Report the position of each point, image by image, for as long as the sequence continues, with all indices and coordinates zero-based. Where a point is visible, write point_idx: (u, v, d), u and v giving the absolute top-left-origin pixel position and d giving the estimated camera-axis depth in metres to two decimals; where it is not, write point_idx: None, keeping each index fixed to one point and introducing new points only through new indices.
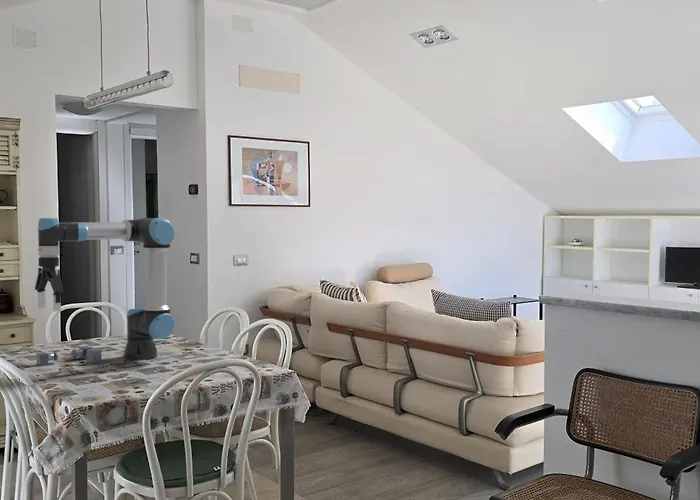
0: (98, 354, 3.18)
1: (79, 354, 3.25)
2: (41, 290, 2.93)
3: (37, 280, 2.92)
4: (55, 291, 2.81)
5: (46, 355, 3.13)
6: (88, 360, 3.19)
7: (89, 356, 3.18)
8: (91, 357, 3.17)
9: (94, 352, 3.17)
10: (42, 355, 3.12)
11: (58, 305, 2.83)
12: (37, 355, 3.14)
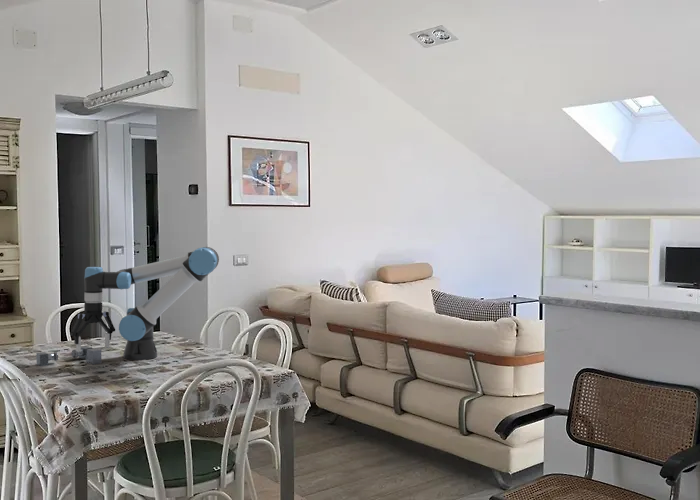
0: (98, 354, 3.18)
1: (79, 354, 3.25)
2: (108, 332, 3.24)
3: None
4: None
5: (46, 355, 3.13)
6: (88, 360, 3.19)
7: (89, 356, 3.18)
8: (91, 357, 3.17)
9: (94, 352, 3.17)
10: (42, 355, 3.12)
11: (77, 346, 3.14)
12: (37, 355, 3.14)
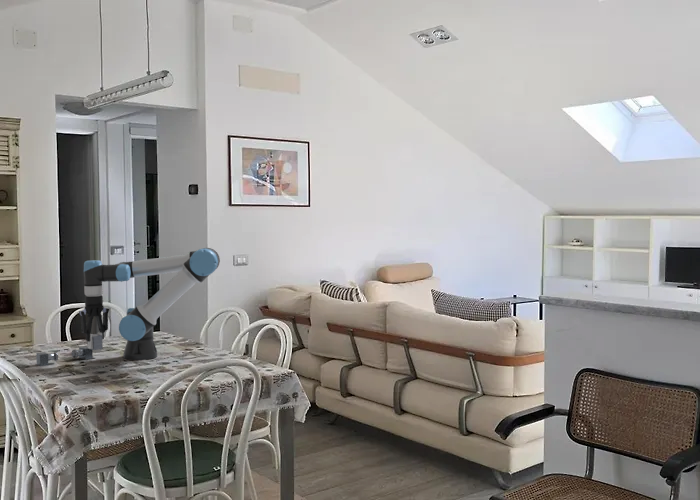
0: (99, 340, 3.18)
1: (79, 354, 3.25)
2: (100, 331, 3.21)
3: None
4: None
5: (46, 355, 3.13)
6: None
7: None
8: None
9: (95, 338, 3.17)
10: (42, 355, 3.12)
11: (89, 343, 3.17)
12: (37, 355, 3.14)
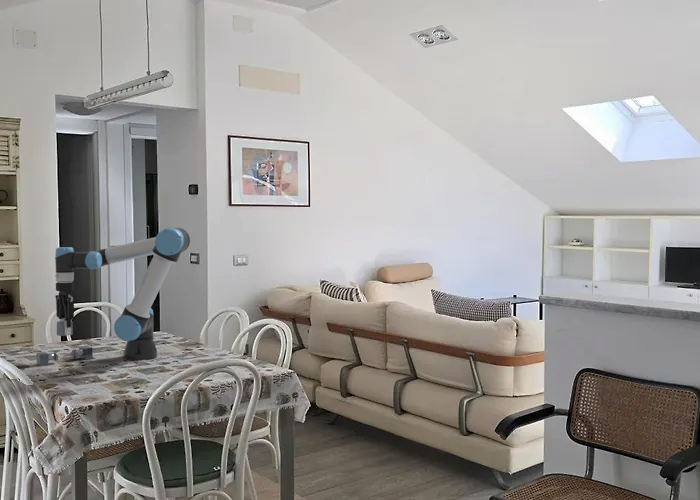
0: None
1: (79, 354, 3.25)
2: (62, 317, 3.23)
3: (57, 307, 3.23)
4: (66, 317, 3.17)
5: (46, 355, 3.13)
6: None
7: None
8: None
9: None
10: (42, 355, 3.12)
11: (68, 329, 3.20)
12: (37, 355, 3.14)
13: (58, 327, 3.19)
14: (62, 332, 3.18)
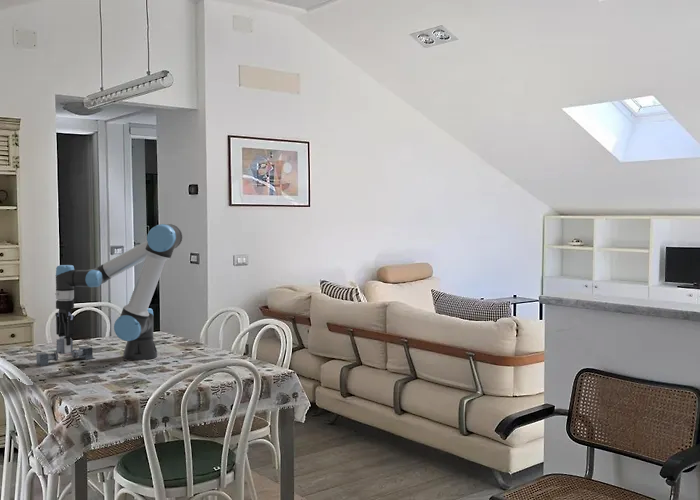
0: None
1: (79, 354, 3.25)
2: (62, 335, 3.23)
3: (57, 324, 3.24)
4: (66, 335, 3.18)
5: (46, 355, 3.13)
6: None
7: None
8: None
9: None
10: (42, 355, 3.12)
11: (68, 347, 3.20)
12: (37, 355, 3.14)
13: (58, 345, 3.20)
14: (62, 350, 3.19)
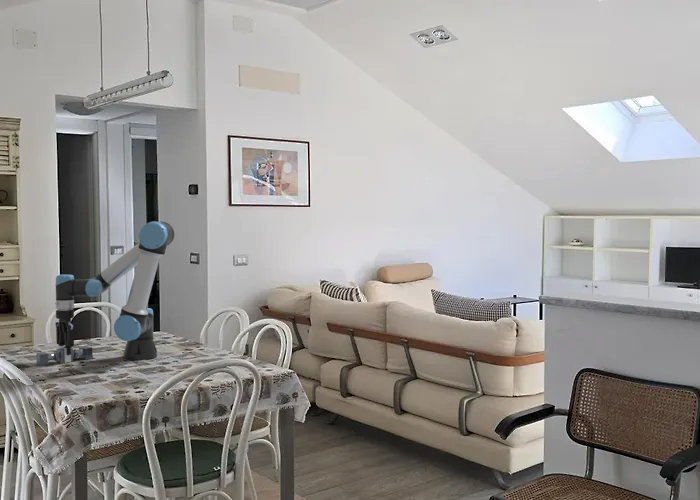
0: None
1: (79, 354, 3.25)
2: (62, 344, 3.23)
3: (57, 334, 3.24)
4: (66, 345, 3.18)
5: (46, 355, 3.13)
6: None
7: None
8: None
9: None
10: (42, 355, 3.12)
11: (68, 357, 3.20)
12: (37, 355, 3.14)
13: (58, 354, 3.20)
14: (62, 359, 3.19)
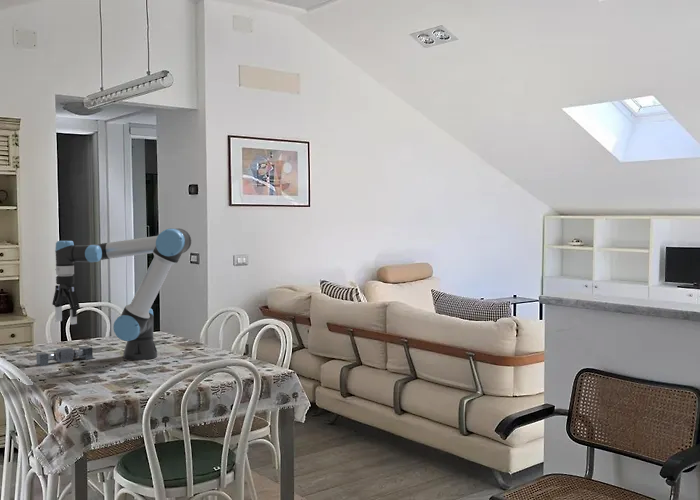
0: None
1: (79, 354, 3.25)
2: (58, 305, 3.26)
3: (54, 296, 3.25)
4: (72, 306, 3.15)
5: (46, 355, 3.13)
6: (64, 360, 3.19)
7: (66, 354, 3.20)
8: (70, 355, 3.21)
9: None
10: (42, 355, 3.12)
11: (74, 319, 3.17)
12: (37, 355, 3.14)
13: (58, 354, 3.20)
14: (62, 359, 3.19)
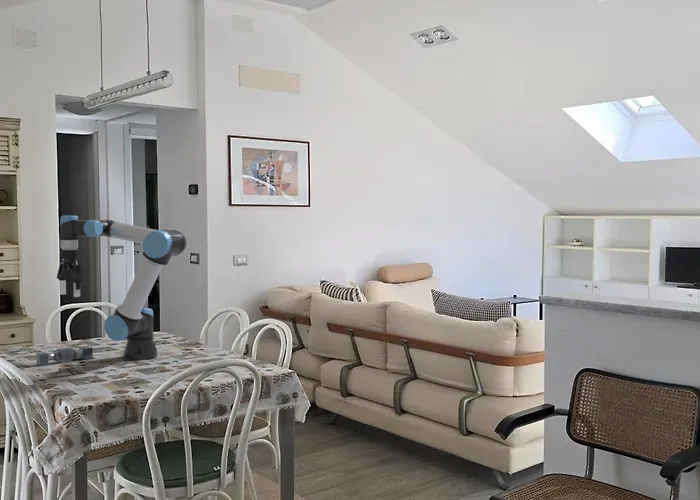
0: None
1: (79, 354, 3.25)
2: (62, 279, 3.34)
3: (59, 270, 3.33)
4: (75, 279, 3.22)
5: (46, 355, 3.13)
6: (64, 360, 3.19)
7: (66, 354, 3.20)
8: (70, 355, 3.21)
9: None
10: (42, 355, 3.12)
11: (77, 292, 3.24)
12: (37, 355, 3.14)
13: (58, 354, 3.20)
14: (62, 359, 3.19)
